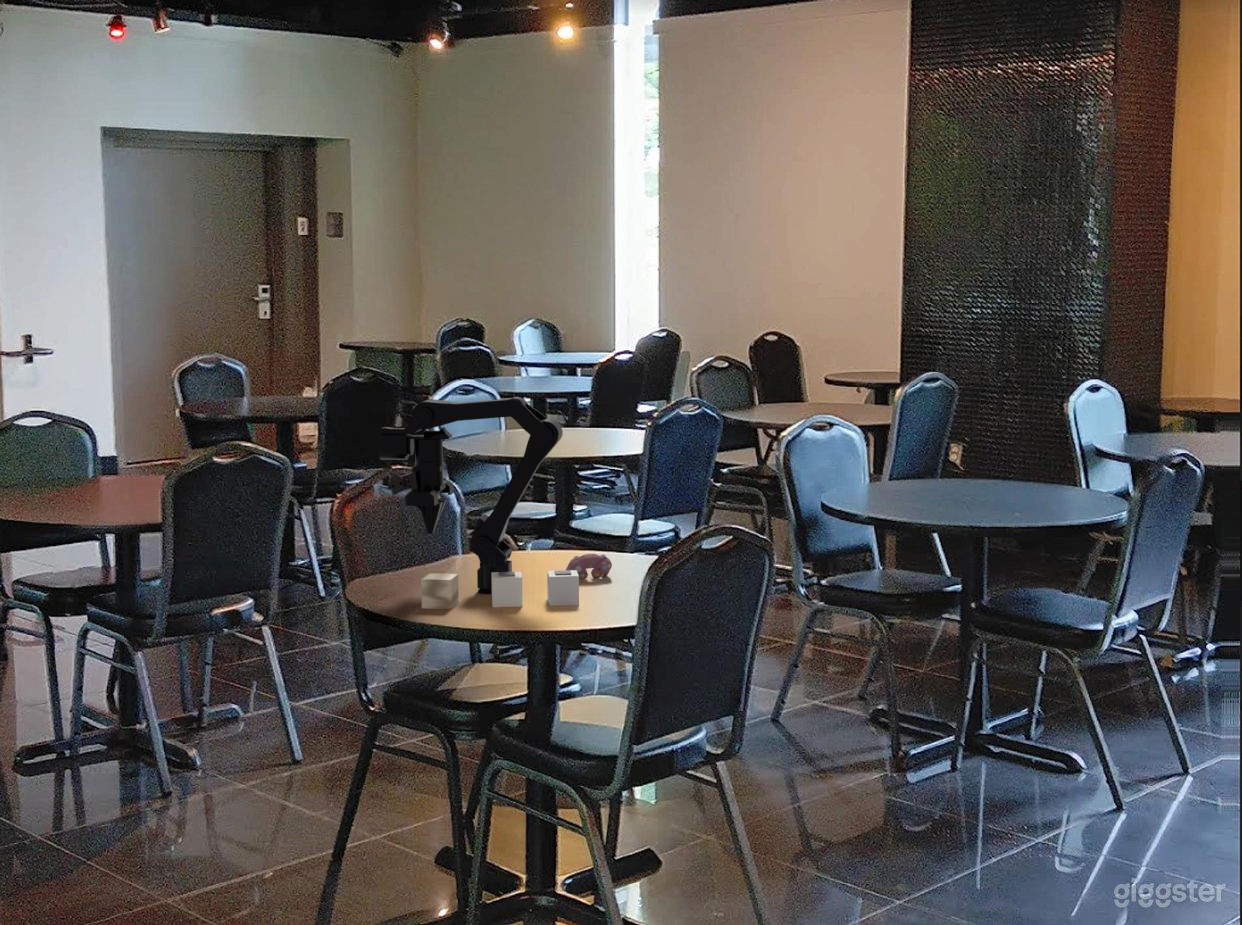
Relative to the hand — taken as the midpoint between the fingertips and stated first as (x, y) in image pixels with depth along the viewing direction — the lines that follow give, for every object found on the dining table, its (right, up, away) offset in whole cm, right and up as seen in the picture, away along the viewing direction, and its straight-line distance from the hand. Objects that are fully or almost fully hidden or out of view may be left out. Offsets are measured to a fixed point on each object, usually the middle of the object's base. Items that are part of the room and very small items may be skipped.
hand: (430, 533), depth 323 cm
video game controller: (+33, -11, +13) cm, 37 cm away
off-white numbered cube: (+17, -14, -12) cm, 25 cm away
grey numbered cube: (+28, -14, -10) cm, 33 cm away
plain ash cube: (+4, -14, -13) cm, 20 cm away
